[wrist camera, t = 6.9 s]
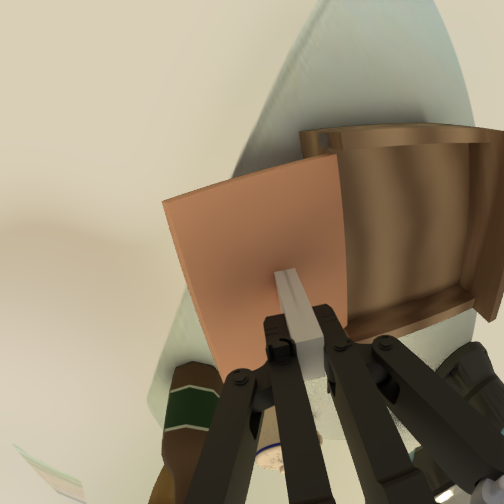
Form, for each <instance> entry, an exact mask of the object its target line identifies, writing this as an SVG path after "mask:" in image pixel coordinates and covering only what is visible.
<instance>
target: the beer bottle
mask: <svg viewBox="0 0 504 504" xmlns="http://www.w3.org/2000/svg"><path fill="white" fill-rule="evenodd" d="M223 385H224V383H223V381H222V378H221V376H220V374H219V373H218V372H217V371H216V369H215V368H214V367H213V366H209V365H205V364H200V363H196V362H191V363H188V364H185V365H182V366H180V367H177V368H175V371H174V375H173V379H172V383H171V387H170V391H169V397H168V404H167V410H166V417H165V424H164V431H163V439H162V458H163V461H164V464H165V466H166V468H167V470H168V471H169V473H170V474H171V476H172V477H173V484H174V504H183V503H184V500H185V497H186V495H187V492H188V489H189V486H190V483H191V480H192V477H193V474H194V472H195V469H196V466H197V463H198V460H199V457H200V454H201V451H202V448H203V445H204V442H205V439H206V436H207V433H208V430H209V427H210V424H211V421H212V418H213V415H214V412H215V409H216V406H217V403H218V400H219V397H220V394H221V391H222V388H223Z"/></svg>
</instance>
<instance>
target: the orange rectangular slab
mask: <svg viewBox="0 0 504 504" xmlns="http://www.w3.org/2000/svg"><path fill="white" fill-rule="evenodd" d="M162 204H163V207H164V211H165V215H166V218H167V221H168V225H169V229H170V232H171V235H172V239H173V242H174V245H175V249H176V252H177V255H178V258H179V262H180V264H181V267H182V271H183V274H184V277H185V280H186V283H187V286H188V289H189V292H190V295H191V298H192V301H193V304H194V307H195V310H196V312H197V315H198V318H199V321H200V324H201V326H202V329H203V332H204V335H205V337H206V340H207V343H208V345H209V348H210V351H211V353H212V356H213V358H214V361H215V363H216V366H217V368H218V371H219V373H220V376H221V378H222V381H223V383H224V382H225V379H226V377H227V375H228V374H229V373H230V372H231V371H233V370H235V369H239V368H247V369H250V370H251V371H253V370H256V369H258V368H260V367H261V366H263V365H264V364H265V362H266V361H267V354H266V350H265V349H266V339H265V333H264V326H263V322H264V320H265V318H266V317H267V316H272V315H277V314H281V310H280V306H279V300H278V293H277V287H276V281H275V275H274V272H277V271H282V270H287V269H292V268H295V269H296V272H297V274H298V276H299V279H300V281H301V283H302V286H303V288H304V290H305V293H306V295H307V297H308V300H309V302H310V304H311V307H312V306H317V305H321V304H328V305H329V306H330V307H332V308H333V310H334V312H335V314H336V316H337V318H338V320H339V322H340V324H341V326H342V328H345V327H346V326H347V271H346V250H345V233H344V220H343V208H342V197H341V187H340V178H339V170H338V162H337V154H323V155H319V156H315V157H311V158H306V159H302V160H298V161H294V162H290V163H286V164H283V165H279V166H275V167H271V168H267V169H264V170H260V171H257V172H253V173H249V174H246V175H242V176H239V177H236V178H232V179H229V180H226V181H222V182H219V183H216V184H213V185H210V186H206V187H203V188H200V189H197V190H194V191H191V192H188V193H185V194H182V195H179V196H176V197H173V198H170V199H167V200H164V201H162Z"/></svg>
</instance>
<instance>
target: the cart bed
mask: <svg viewBox="0 0 504 504" xmlns="http://www.w3.org/2000/svg"><path fill="white" fill-rule="evenodd" d="M299 134H300V140H301V146H302V152H303V158H304V159H306V158H311V157H315V156H319V155H323V154H337V162H338V170H339V178H340V187H341V197H342V208H343V220H344V233H345V250H346V271H347V326H346V327H345V328H343V330H344V331H345V333H346V335H347V337H348V338H350V339H352V340H353V341H354V342H355V343H359V344H372V342H373V340H374V339H375V338H376V337H378V336H381V335H391V336H394V337H395V338H399V337H402V336H405V335H407V334H410V333H413V332H416V331H418V330H421V329H423V328H426V327H429V326H431V325H434V324H436V323H438V322H441V321H443V320H446V319H448V318H450V317H453V316H455V315H457V314H460V313H462V312H464V311H466V310H468V309H471V308H474V309H475V310H476V311H477V312H478V313H479V314H480V315H481V316H482V317H483V318H484V319H486V320H487V321H488V322H491V321H493V320H495V319H496V316H497V313H498V310H499V307H500V304H501V300H502V297H503V293H504V131H500V130H494V129H487V128H479V127H471V126H461V125H451V124H437V123H393V124H373V125H358V126H346V127H335V128H326V129H317V130H309V131H301V132H299Z"/></svg>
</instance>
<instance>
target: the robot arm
mask: <svg viewBox="0 0 504 504" xmlns="http://www.w3.org/2000/svg"><path fill="white" fill-rule="evenodd" d="M274 275H275V281H276V287H277V293H278V300H279V306H280V310H281V314H277V315H272V316H267V317H266V318H265V320H264V322H263V326H264V333H265V339H266V349H265V350H266V354H267V361H266V362H265V364H264V365H263V366H261V367H260V368H258V369H256V370H253V371H251V370H250V369H247V368H239V369H235V370H233V371H231V372H230V373H229V374H228V375H227V377H226V379H225V382H224V385H223V388H222V391H221V394H220V397H219V400H218V403H217V406H216V409H215V412H214V415H213V418H212V421H211V424H210V427H209V430H208V433H207V436H206V439H205V442H204V445H203V448H202V451H201V454H200V457H199V460H198V463H197V466H196V469H195V472H194V474H193V477H192V480H191V483H190V486H189V489H188V492H187V495H186V497H185V500H184V503H183V504H245V501H246V497H247V493H248V488H249V484H250V479H251V474H252V471H253V466H254V461H255V457H256V452H257V447H258V442H259V438H260V433H261V428H262V423H263V418H264V412H265V410H266V409H268V408H271V407H273V406H275V411H276V418H277V424H278V431H279V438H280V445H281V451H282V458H283V465H284V471H285V478H286V485H287V491H288V498H289V504H336V502H335V499H334V498H333V495H332V492H331V488H330V484H329V479H328V475H327V471H326V467H325V463H324V459H323V455H322V451H321V446H320V442H319V438H318V434H317V430H316V426H315V422H314V418H313V414H312V411H311V407H310V403H309V399H308V395H307V391H306V387H305V383H304V381H308V380H312V379H316V378H320V377H324V376H325V372H326V375H327V392H328V394H329V393H331V396H332V399H333V402H334V405H335V408H336V411H337V413H338V416H339V419H340V422H341V425H342V428H343V431H344V434H345V437H346V440H347V443H348V446H349V449H350V453H351V456H352V459H353V462H354V465H355V468H356V471H357V475H358V478H359V481H360V484H361V487H362V490H363V494H364V497H365V504H504V384H503V382H502V381H501V380H500V379H499V378H498V376H497V375H496V374H495V372H494V370H493V367H492V364H491V361H490V359H489V357H488V354H487V351H486V349H485V348H484V347H483V346H482V344H481V343H480V342H471V343H468V344H466V345H464V346H463V347H461V348H460V349H458V350H457V351H456V352H454V353H453V354H452V355H451V356H450V357H449V358H448V359H447V360H446V361H445V362H444V363H443V364H442V365H441V366H440V367H439V368H438V370H437V371H436V372H434V371H433V370H432V369H431V368H430V367H429V366H428V365H426V364H425V363H424V362H423V361H422V360H421V359H420V358H419V357H417V356H416V355H415V354H414V353H413V352H412V351H411V350H409V349H408V348H407V347H406V346H405V345H404V344H403V343H401V342H400V341H399V340H398V339H397V338H395V337H394V336H391V335H381V336H378V337H376V338H375V339H374V340H373V342H372V344H359V343H355V342H354V341H353V340H352V339H350V338H348V337H347V335H346V333H345V331H344V330H343V328H342V326H341V324H340V322H339V320H338V318H337V316H336V314H335V312H334V310H333V308H332V307H330V306H329V305H328V304H321V305H317V306H312V307H311V304H310V302H309V300H308V297H307V295H306V293H305V290H304V288H303V286H302V283H301V281H300V279H299V276H298V274H297V272H296V269H295V268H292V269H287V270H282V271H277V272H274ZM387 407H388V408H389V409H390V410H391V411H392V413H393V414H394V415H395V416H396V417H397V418H398V419H399V421H400V422H401V423H402V424H403V425H404V426H405V427H406V428H407V430H408V431H409V432H410V433H411V434H412V435H413V436H414V438H415V439H416V440H417V441H418V442H419V443H420V444H421V446H420V447H417V448H415V449H414V450H413V451H412V452H410V453H409V454H408V452H407V450H406V447H405V445H404V443H403V441H402V438H401V436H400V434H399V432H398V430H397V428H396V425H395V423H394V421H393V419H392V417H391V415H390V413H389V411H388V408H387Z"/></svg>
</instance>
